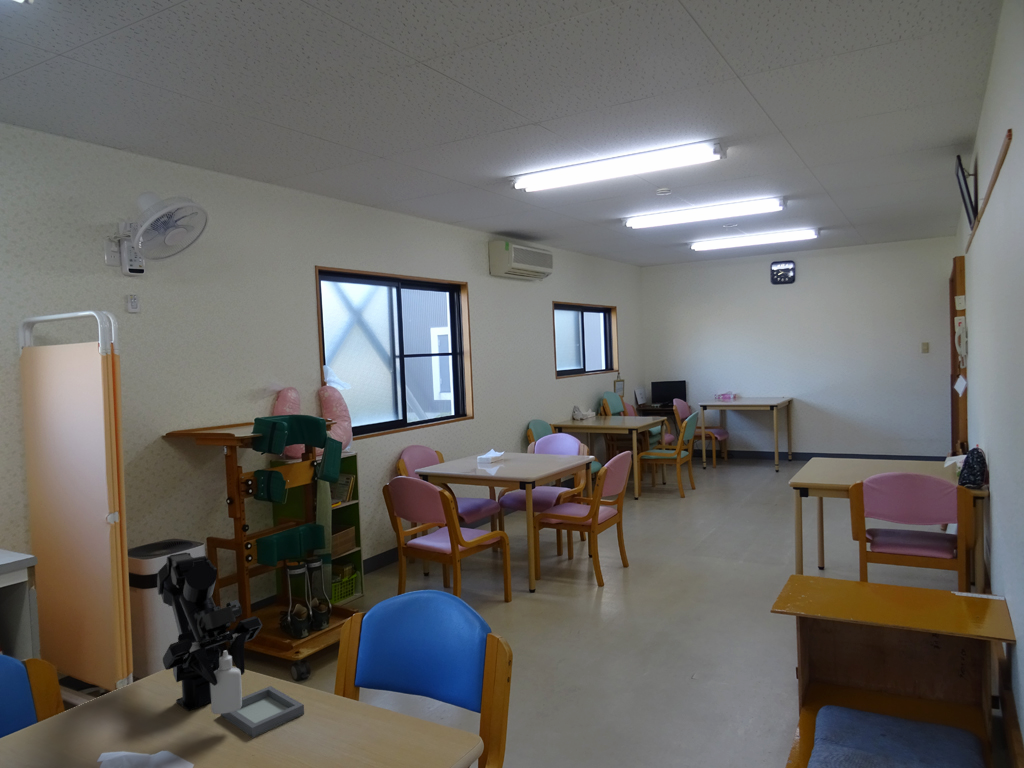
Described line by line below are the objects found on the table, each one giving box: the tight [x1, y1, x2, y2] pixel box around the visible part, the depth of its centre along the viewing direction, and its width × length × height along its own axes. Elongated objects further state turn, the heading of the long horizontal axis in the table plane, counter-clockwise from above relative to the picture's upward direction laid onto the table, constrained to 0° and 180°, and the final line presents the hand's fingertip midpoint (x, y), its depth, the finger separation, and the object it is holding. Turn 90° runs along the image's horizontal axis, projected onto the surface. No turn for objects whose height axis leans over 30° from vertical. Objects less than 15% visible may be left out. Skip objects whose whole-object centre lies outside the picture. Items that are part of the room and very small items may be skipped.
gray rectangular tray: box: [220, 685, 305, 739], centre depth 144 cm, size 13×11×2 cm
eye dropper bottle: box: [210, 649, 243, 715], centre depth 138 cm, size 4×6×12 cm
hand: (229, 679), depth 137 cm, fingers closed on eye dropper bottle, 5 cm apart
